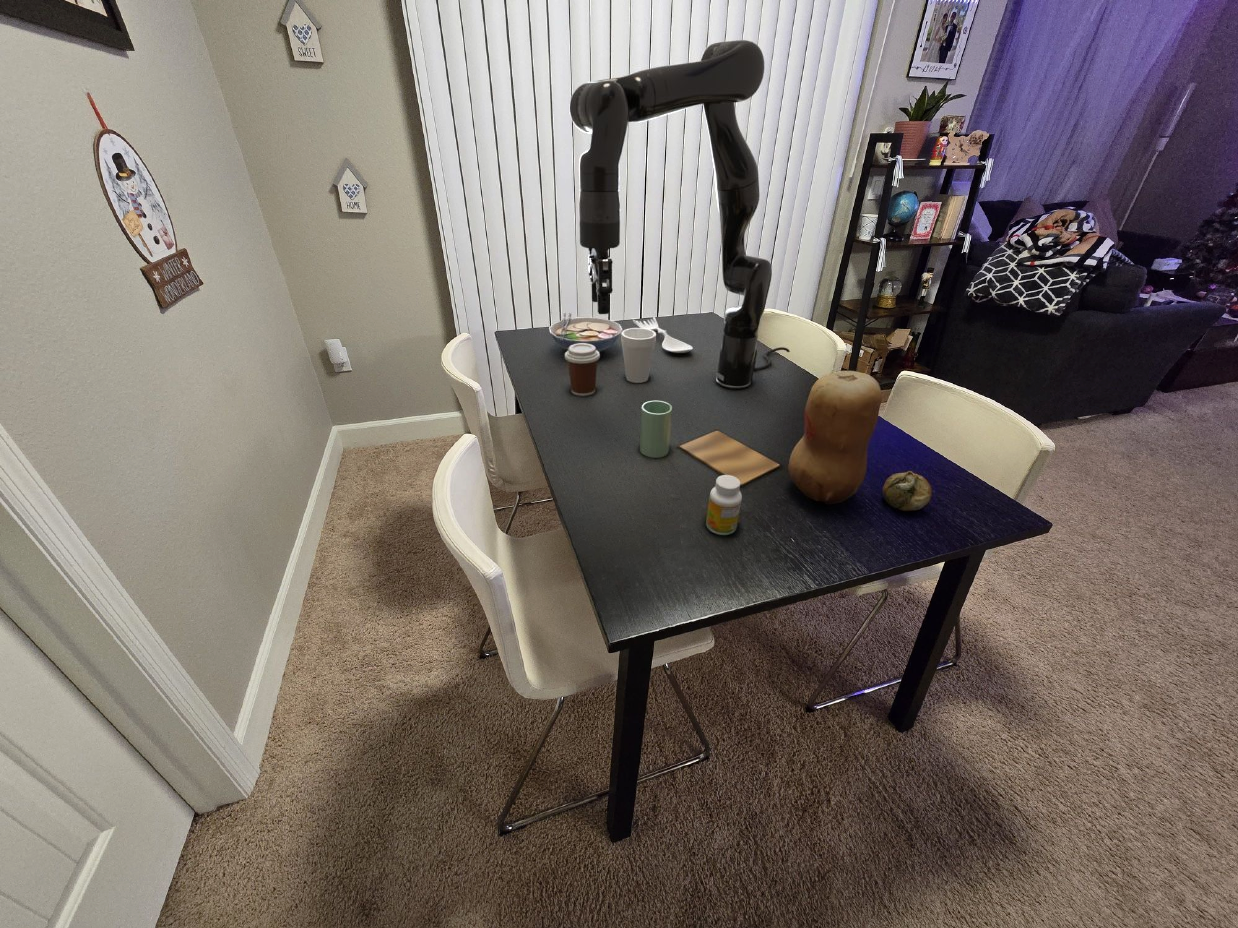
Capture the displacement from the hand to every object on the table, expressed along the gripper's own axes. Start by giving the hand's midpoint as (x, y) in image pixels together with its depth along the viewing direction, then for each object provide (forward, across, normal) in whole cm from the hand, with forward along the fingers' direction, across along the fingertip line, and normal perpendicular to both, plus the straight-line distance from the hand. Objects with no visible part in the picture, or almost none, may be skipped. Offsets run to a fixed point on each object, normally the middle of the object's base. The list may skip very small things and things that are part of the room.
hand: (600, 307), depth 101 cm
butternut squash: (+29, -31, -38) cm, 57 cm away
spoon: (+29, +58, -30) cm, 71 cm away
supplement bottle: (+29, -36, -16) cm, 49 cm away
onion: (+29, -36, -52) cm, 70 cm away
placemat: (+29, -15, -26) cm, 41 cm away
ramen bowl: (+29, +52, -3) cm, 60 cm away
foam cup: (+29, +29, -15) cm, 44 cm away
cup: (+29, -10, -10) cm, 32 cm away
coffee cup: (+29, +23, +1) cm, 37 cm away
